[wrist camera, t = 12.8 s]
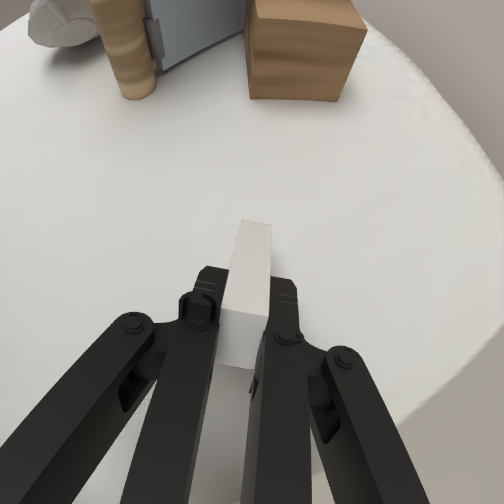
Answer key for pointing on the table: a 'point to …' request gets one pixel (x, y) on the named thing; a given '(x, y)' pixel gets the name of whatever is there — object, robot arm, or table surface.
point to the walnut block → (300, 47)
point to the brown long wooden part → (126, 45)
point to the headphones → (61, 23)
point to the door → (189, 26)
